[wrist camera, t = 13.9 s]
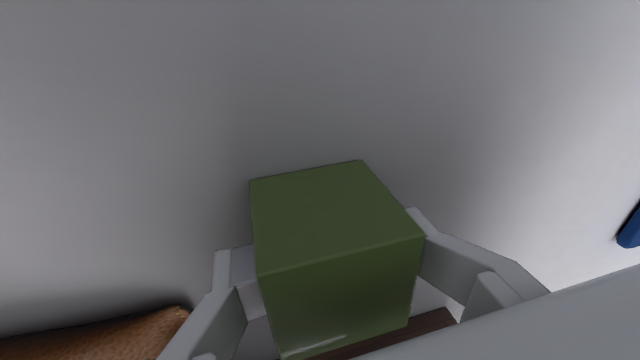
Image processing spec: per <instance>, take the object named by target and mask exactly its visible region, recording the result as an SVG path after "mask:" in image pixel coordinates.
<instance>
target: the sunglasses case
mask: <svg viewBox="0 0 640 360" xmlns="http://www.w3.org/2000/svg"><path fill="white" fill-rule="evenodd" d="M191 313H192V312H191V311H190V310H189V309H188V308H186V307H184V306H181V305H167V306H163V307H160V308H156V309H152V310H148V311H144V312H140V313H136V314H132V315H128V316H124V317H119V318H115V319H111V320H107V321H102V322H98V323H92V324H87V325H81V326H75V327H70V328H63V329H56V330H49V331H42V332H37V333H31V334H25V335H20V336H15V337H9V338H3V339H0V360H156V359H157V357H158V356H159V355H160V354H161V352H162V351H163V350H164V348H165V347H166V346H167V344H168V343H169V342H170V340H171V339H172V338H173V336H174V335H175V334H176V333H177V331H178V330H179V329H180V327H181V326H182V325H183V323H184V322H185V321H186V319H187V318H188V317H189V315H190V314H191Z"/></svg>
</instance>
